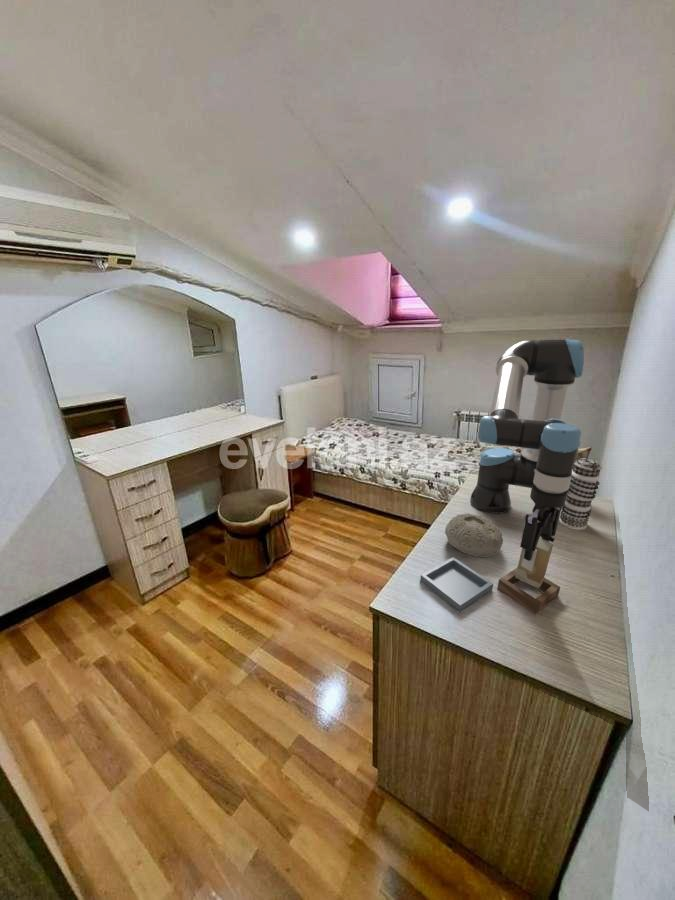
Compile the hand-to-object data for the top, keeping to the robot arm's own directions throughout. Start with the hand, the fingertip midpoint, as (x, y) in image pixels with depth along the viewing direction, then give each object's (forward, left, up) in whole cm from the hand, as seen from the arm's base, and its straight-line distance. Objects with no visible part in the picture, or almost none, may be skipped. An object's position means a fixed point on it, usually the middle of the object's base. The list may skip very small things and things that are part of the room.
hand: (533, 563), depth 94 cm
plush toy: (-62, -19, -10) cm, 65 cm away
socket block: (0, 0, -10) cm, 10 cm away
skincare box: (0, 0, -6) cm, 6 cm away
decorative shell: (-5, -22, -10) cm, 25 cm away
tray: (+14, -13, -10) cm, 22 cm away
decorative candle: (-47, -10, -10) cm, 49 cm away
